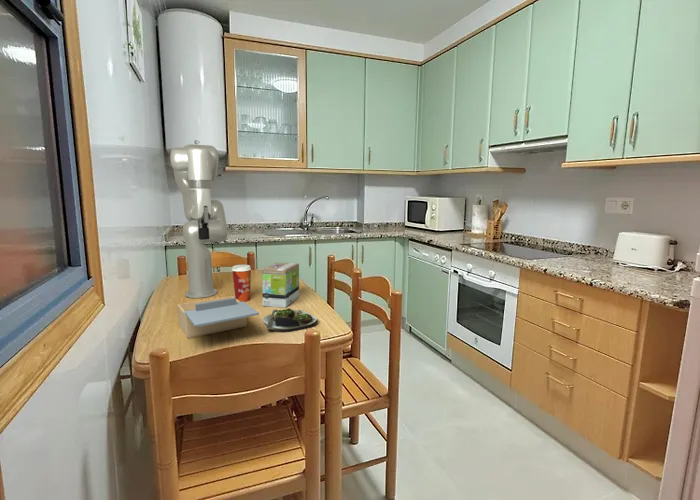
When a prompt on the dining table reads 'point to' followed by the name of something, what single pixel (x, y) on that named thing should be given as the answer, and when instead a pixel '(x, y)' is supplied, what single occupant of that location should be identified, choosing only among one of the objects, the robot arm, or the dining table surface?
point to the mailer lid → (219, 312)
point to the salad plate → (289, 320)
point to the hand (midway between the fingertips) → (204, 239)
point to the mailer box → (205, 329)
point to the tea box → (280, 284)
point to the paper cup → (242, 282)
